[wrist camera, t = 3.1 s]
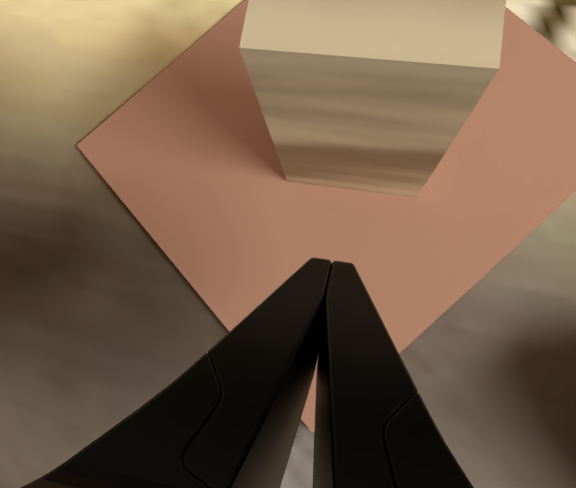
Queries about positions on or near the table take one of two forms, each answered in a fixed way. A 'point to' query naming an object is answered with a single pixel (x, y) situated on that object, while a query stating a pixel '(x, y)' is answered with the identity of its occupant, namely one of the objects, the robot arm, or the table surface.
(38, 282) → the table surface
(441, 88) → the birch block
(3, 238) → the table surface
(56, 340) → the table surface
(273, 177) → the rubber mat
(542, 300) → the table surface
